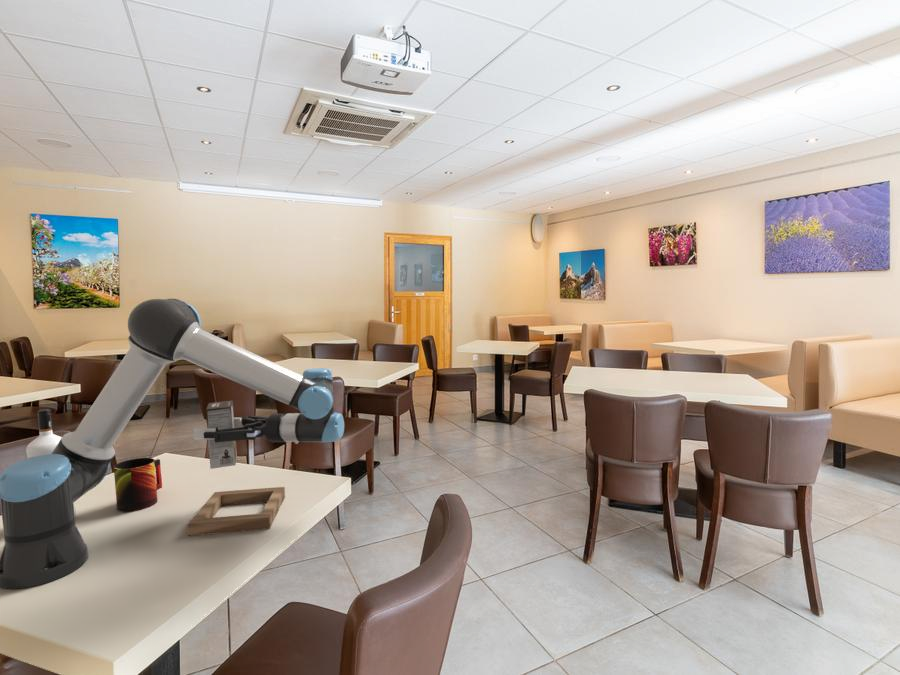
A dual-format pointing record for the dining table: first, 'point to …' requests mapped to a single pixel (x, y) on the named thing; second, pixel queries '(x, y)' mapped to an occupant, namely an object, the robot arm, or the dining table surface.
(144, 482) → the mug
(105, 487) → the dining table surface
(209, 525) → the block
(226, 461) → the coffee box
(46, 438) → the vodka
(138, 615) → the dining table surface
